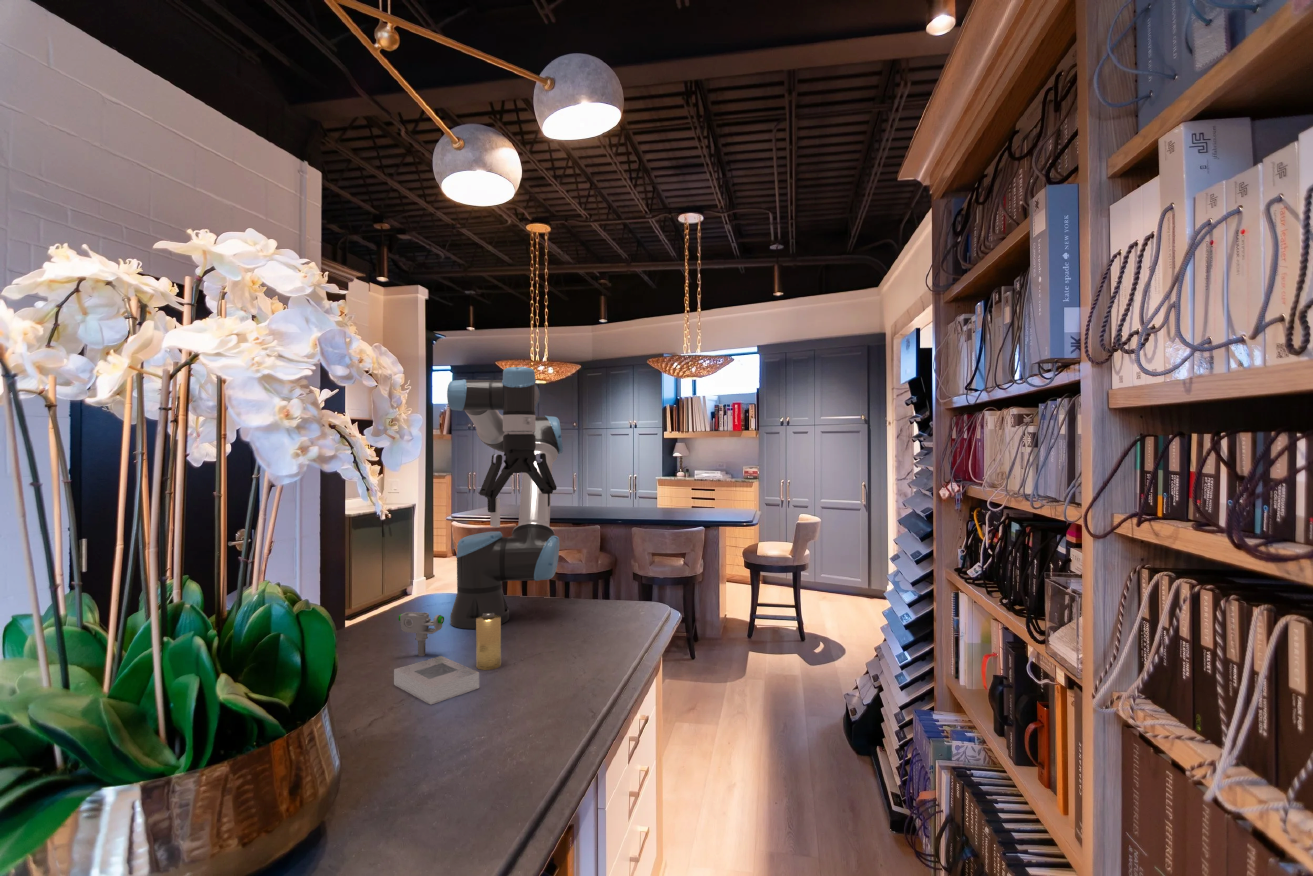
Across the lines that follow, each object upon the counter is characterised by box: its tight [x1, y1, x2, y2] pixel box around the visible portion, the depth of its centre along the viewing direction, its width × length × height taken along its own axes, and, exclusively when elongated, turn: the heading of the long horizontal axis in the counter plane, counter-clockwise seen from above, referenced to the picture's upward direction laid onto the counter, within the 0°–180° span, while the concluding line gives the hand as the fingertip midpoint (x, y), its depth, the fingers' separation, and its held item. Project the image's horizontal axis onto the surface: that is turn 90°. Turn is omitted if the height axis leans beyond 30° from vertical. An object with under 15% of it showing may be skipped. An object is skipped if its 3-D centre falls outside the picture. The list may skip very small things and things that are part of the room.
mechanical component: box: [398, 611, 445, 657], centre depth 140 cm, size 3×10×10 cm, turn 79°
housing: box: [393, 655, 480, 706], centre depth 122 cm, size 14×10×4 cm
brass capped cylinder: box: [475, 612, 502, 671], centre depth 133 cm, size 5×5×12 cm
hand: (520, 523), depth 149 cm, fingers open, 13 cm apart
